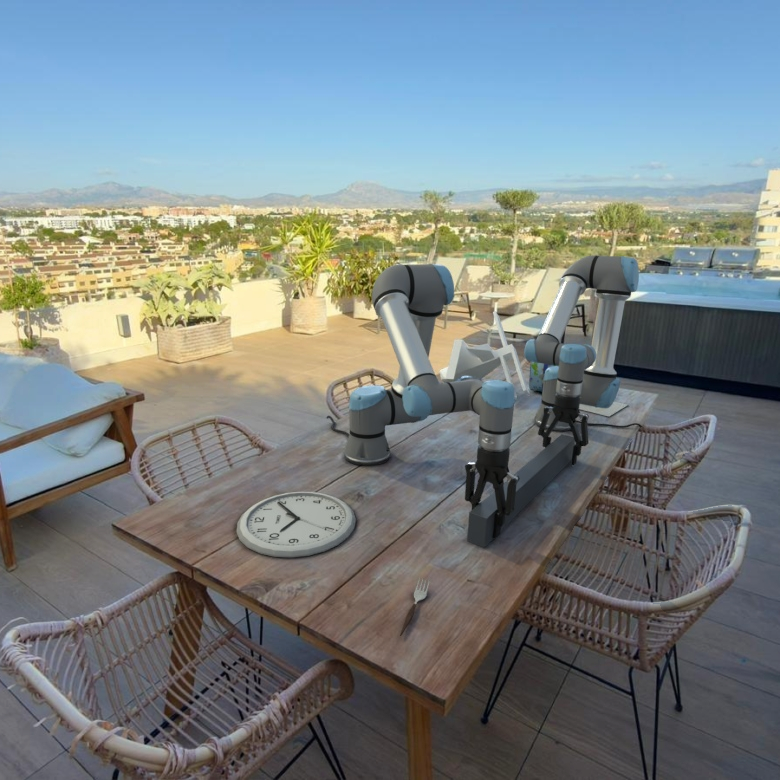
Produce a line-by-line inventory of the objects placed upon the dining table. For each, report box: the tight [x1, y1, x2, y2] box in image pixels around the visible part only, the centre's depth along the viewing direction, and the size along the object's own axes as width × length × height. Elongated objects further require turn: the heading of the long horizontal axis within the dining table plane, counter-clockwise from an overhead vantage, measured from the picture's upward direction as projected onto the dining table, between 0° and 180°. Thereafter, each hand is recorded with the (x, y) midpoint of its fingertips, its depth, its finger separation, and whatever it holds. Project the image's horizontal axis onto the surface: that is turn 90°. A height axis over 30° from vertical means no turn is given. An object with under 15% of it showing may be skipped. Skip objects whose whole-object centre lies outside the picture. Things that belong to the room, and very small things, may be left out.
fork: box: [399, 577, 431, 637], centre depth 104 cm, size 3×16×2 cm, turn 160°
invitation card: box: [579, 401, 629, 418], centre depth 226 cm, size 21×1×15 cm
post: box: [466, 433, 576, 548], centre depth 150 cm, size 64×5×8 cm, turn 143°
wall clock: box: [236, 491, 357, 558], centre depth 134 cm, size 30×2×30 cm
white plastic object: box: [438, 310, 531, 400], centre depth 245 cm, size 37×45×31 cm
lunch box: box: [528, 361, 556, 393], centre depth 247 cm, size 26×11×21 cm, turn 134°
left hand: (486, 531), depth 131 cm, fingers closed on post, 5 cm apart
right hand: (559, 460), depth 171 cm, fingers open, 8 cm apart
